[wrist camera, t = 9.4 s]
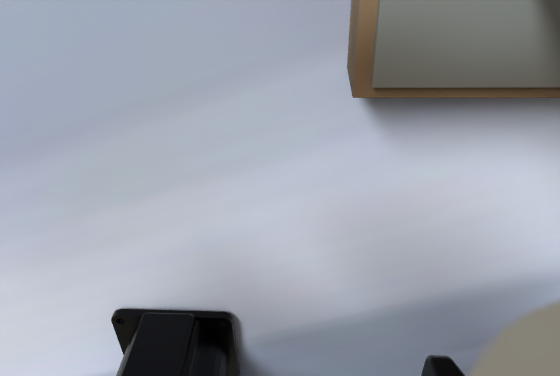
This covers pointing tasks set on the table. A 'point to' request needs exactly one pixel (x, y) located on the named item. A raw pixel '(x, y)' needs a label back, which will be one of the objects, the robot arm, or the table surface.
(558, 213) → the table surface
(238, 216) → the table surface
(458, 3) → the wooden framed mirror
